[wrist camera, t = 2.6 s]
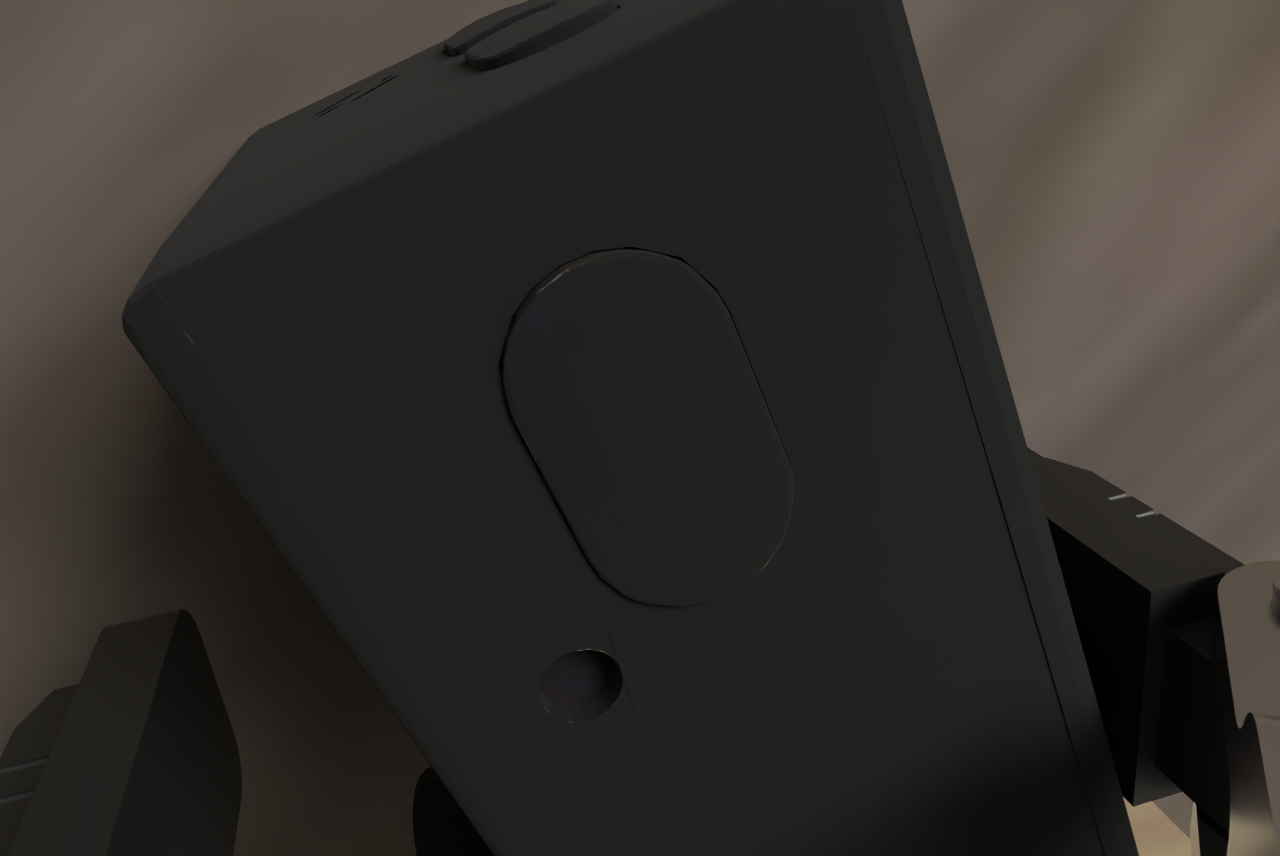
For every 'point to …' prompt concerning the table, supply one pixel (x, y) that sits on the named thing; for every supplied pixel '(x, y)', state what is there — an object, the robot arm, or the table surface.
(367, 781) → the table surface
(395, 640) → the digital camera
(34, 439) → the table surface
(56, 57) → the table surface
